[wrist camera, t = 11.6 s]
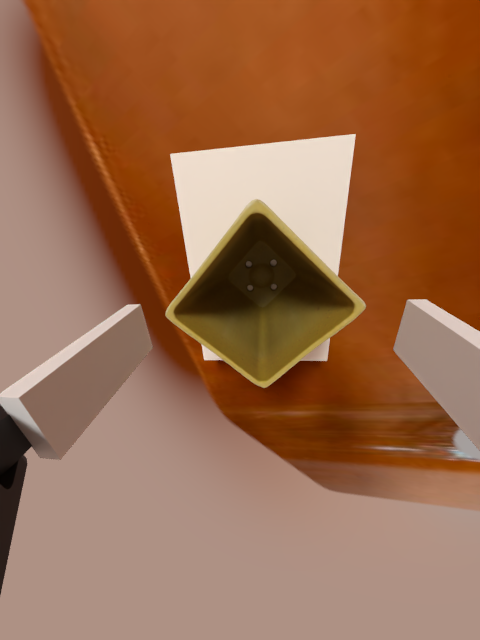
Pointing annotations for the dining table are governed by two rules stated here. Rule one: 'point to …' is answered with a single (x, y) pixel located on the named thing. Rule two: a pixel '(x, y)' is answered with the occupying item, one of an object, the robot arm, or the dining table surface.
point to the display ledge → (267, 197)
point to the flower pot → (263, 298)
